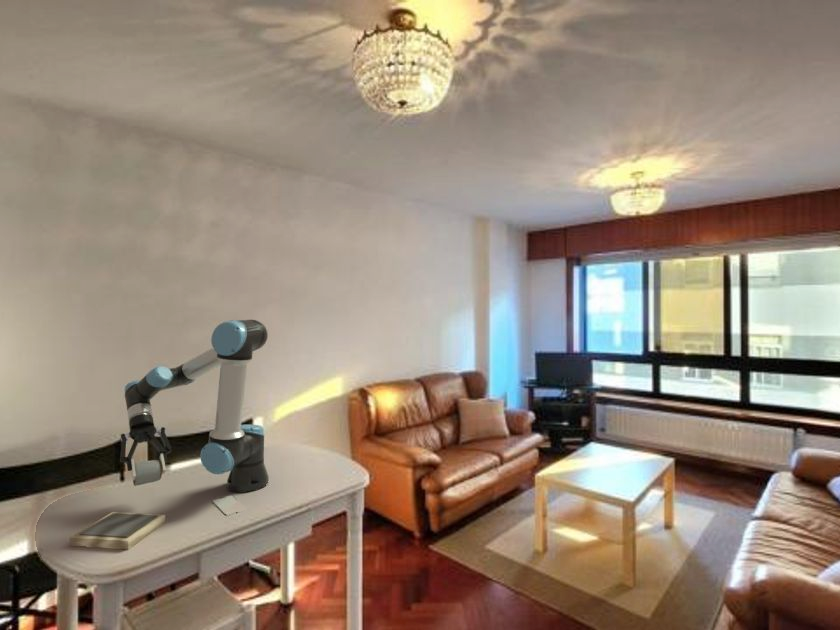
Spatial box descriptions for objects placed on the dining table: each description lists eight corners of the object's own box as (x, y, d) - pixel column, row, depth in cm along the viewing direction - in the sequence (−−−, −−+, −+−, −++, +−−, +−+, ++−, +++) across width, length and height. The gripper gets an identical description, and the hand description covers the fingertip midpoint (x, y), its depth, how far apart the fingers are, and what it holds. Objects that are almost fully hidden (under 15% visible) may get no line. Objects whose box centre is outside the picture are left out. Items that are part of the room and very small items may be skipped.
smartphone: (225, 515, 149) (211, 500, 160) (225, 517, 149) (211, 502, 160) (248, 509, 154) (232, 494, 165) (248, 511, 154) (232, 496, 165)
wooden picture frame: (165, 522, 144) (165, 513, 144) (128, 549, 128) (128, 539, 128) (112, 519, 146) (112, 510, 146) (70, 545, 130) (69, 535, 130)
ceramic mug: (163, 482, 155) (163, 460, 155) (135, 488, 150) (135, 465, 150) (156, 474, 163) (156, 453, 163) (130, 480, 158) (129, 458, 158)
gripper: (171, 419, 173) (181, 473, 161) (105, 429, 160) (111, 488, 148) (174, 408, 169) (185, 462, 157) (106, 417, 156) (113, 477, 144)
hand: (149, 474), depth 152 cm, fingers closed on ceramic mug, 8 cm apart
